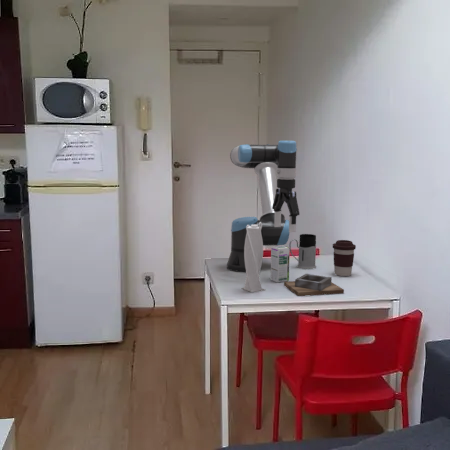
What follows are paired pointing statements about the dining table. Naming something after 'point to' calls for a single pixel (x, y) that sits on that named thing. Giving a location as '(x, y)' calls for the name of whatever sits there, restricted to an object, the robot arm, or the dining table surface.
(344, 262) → the coffee cup
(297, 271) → the dining table surface
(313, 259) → the glass holder
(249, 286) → the skyscraper
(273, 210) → the robot arm
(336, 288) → the socket board
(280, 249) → the syrup box
